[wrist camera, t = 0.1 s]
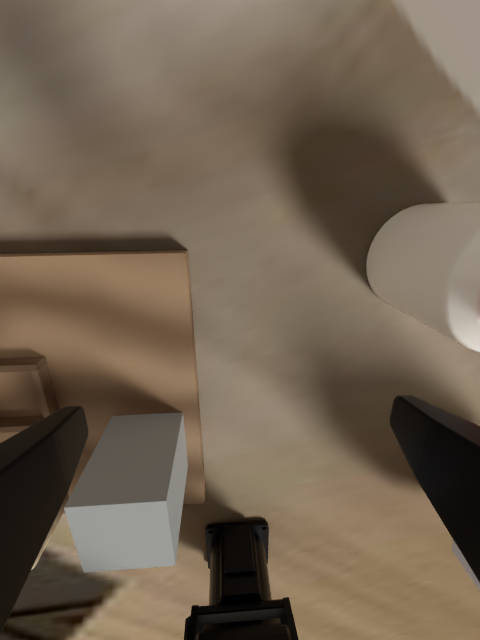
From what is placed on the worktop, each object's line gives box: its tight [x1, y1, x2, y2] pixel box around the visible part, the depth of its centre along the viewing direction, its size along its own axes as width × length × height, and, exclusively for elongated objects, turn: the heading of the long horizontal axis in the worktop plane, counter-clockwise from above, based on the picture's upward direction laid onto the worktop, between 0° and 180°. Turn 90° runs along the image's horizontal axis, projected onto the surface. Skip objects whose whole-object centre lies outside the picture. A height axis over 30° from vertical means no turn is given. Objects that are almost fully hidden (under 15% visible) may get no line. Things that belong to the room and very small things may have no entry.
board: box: [0, 250, 205, 513], centre depth 23 cm, size 23×16×3 cm
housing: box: [64, 413, 188, 573], centre depth 21 cm, size 6×6×8 cm
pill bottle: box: [366, 202, 480, 353], centre depth 17 cm, size 8×8×11 cm
